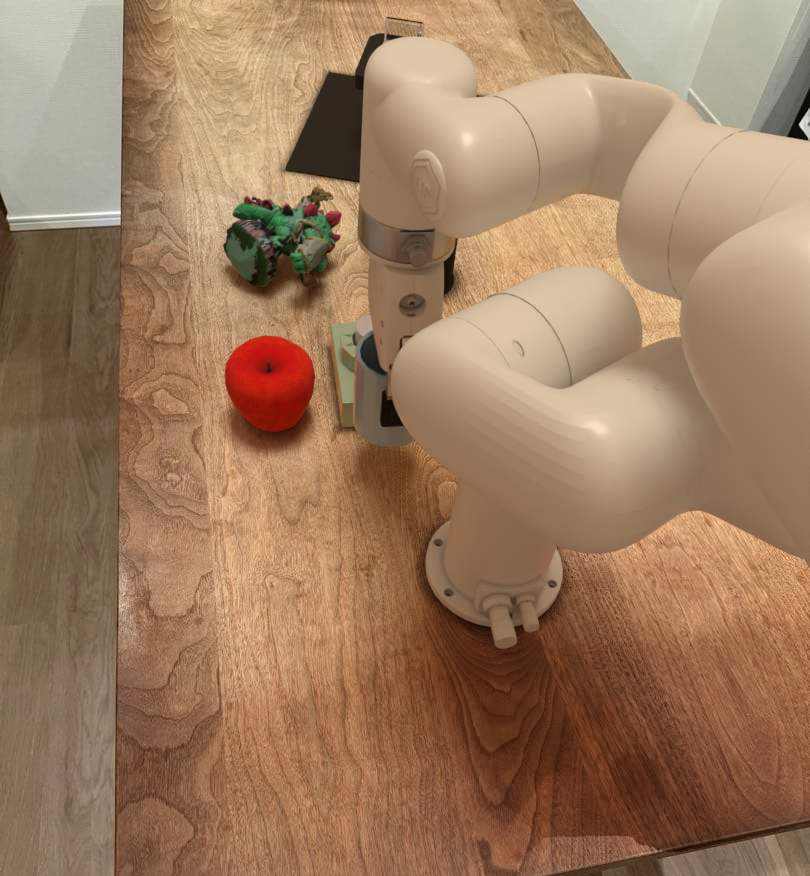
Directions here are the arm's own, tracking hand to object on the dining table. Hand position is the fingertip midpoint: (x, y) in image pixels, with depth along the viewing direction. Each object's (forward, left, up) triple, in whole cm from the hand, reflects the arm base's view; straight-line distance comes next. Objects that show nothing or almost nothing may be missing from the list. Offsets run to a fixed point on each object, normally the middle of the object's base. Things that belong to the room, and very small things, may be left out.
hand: (392, 392), depth 80 cm
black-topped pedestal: (+62, -10, -10) cm, 63 cm away
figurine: (+32, +7, -10) cm, 34 cm away
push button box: (+11, 0, -9) cm, 14 cm away
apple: (+7, +11, -10) cm, 16 cm away
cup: (0, 0, -4) cm, 4 cm away
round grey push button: (+12, 0, -4) cm, 13 cm away
